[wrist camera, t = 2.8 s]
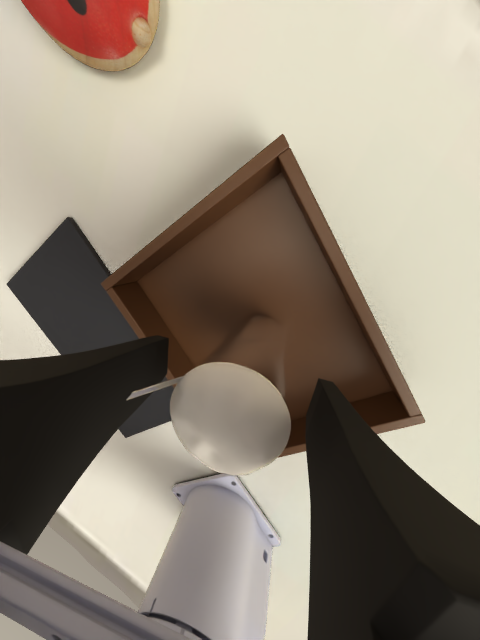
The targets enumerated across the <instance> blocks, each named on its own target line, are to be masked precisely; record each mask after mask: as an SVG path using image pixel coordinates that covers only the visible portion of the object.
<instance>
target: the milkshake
mask: <svg viewBox="0 0 480 640" xmlns="http://www.w3.org/2000/svg"><path fill="white" fill-rule="evenodd" d="M176 383H177V385H176V387H175V388H174V390H173V393H172V396H171V400H170V415H171V419H172V423H173V427H174V429H175V432H176V434H177V436H178V438H179V440H180V441H181V443H182V444H183V445H184V447H185V448H186V449H187V451H188V452H189V453H190V454H191V455H192V456H194V457H195V458H197V459H198V460H199V461H200V462H201V463H203V464H204V465H205V466H207V467H208V468H210V469H212V470H214V471H216V472H220V473H224V474H230V475H237V476H241V475H248V474H250V473H252V472H255V471H257V470H259V469H261V468H263V467H265V466H267V465H269V464H270V463H272V462H273V461H274V460H275V459H276V458H278V457H279V455H280V454H281V453H282V452H283V450H284V449H285V447H286V445H287V443H288V440H289V436H290V432H291V419H290V411H289V401H288V391H287V382H286V375H285V349H284V338H283V331H282V327H281V326H280V325H279V324H278V323H277V322H276V321H275V320H274V319H273V318H272V317H268V316H262V315H257V314H256V315H254V316H252V317H250V318H248V319H245V320H243V321H242V322H241V323H240V324H239V325H238V326H237V327H236V328H235V329H234V330H233V331H232V332H231V333H230V334H229V335H228V336H227V337H226V338H225V339H224V340H223V341H222V342H221V343H220V344H219V345H218V346H217V347H216V348H215V349H213V350H212V351H211V352H210V353H209V354H208V355H207V356H206V357H204V358H203V359H202V360H201V361H200V362H199V363H198V364H197V365H195V366H194V367H193V368H192V369H191V370H190V371H189V372H188V373H186V374H185V375H184V376H181V377H177V378H174V379H171V380H168V381H165V382H161V383H158V384H155V385H152V386H149V387H146V388H142V389H139V390H136V391H133V392H131V393H130V394H129V395H128V397H127V398H126V399H125V400H129V399H132V398H135V397H138V396H141V395H144V394H147V393H150V392H153V391H156V390H159V389H162V388H164V387H167V386H170V385H173V384H176Z"/></svg>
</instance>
